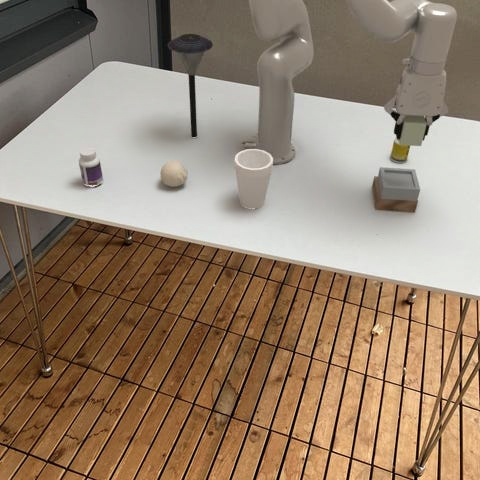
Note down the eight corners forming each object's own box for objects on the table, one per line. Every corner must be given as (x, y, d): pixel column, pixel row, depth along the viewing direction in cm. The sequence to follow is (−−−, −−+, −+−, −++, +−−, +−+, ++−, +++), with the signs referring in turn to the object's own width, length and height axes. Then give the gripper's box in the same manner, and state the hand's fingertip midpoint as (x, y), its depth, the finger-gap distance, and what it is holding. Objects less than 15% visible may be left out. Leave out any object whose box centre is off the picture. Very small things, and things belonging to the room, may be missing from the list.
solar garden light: (205, 150, 166) (203, 50, 147) (167, 142, 169) (159, 43, 150) (220, 130, 175) (219, 33, 156) (183, 123, 178) (178, 27, 158)
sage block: (399, 145, 136) (404, 122, 132) (396, 134, 140) (401, 112, 136) (421, 146, 136) (426, 123, 132) (417, 135, 139) (423, 113, 136)
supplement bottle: (406, 164, 162) (413, 138, 157) (390, 162, 163) (395, 136, 158) (406, 155, 166) (412, 130, 161) (390, 153, 167) (395, 128, 161)
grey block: (381, 198, 144) (383, 187, 142) (377, 178, 151) (379, 167, 148) (417, 200, 143) (420, 189, 141) (412, 180, 150) (415, 169, 148)
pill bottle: (107, 178, 155) (102, 147, 148) (97, 189, 151) (91, 158, 145) (89, 174, 156) (83, 144, 150) (79, 185, 152) (72, 154, 146)
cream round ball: (182, 194, 150) (181, 173, 146) (157, 188, 152) (155, 167, 148) (192, 180, 155) (191, 159, 150) (168, 174, 157) (166, 154, 152)
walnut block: (375, 211, 147) (377, 198, 144) (371, 188, 154) (374, 176, 151) (414, 213, 146) (418, 201, 143) (409, 190, 154) (412, 178, 151)
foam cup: (258, 217, 143) (260, 174, 135) (227, 205, 147) (227, 162, 138) (276, 198, 149) (279, 156, 141) (246, 187, 153) (247, 145, 144)
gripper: (389, 70, 123) (375, 143, 135) (470, 73, 122) (448, 146, 134) (385, 55, 129) (372, 127, 140) (462, 58, 128) (442, 130, 140)
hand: (409, 136), depth 137 cm, fingers closed on sage block, 5 cm apart
